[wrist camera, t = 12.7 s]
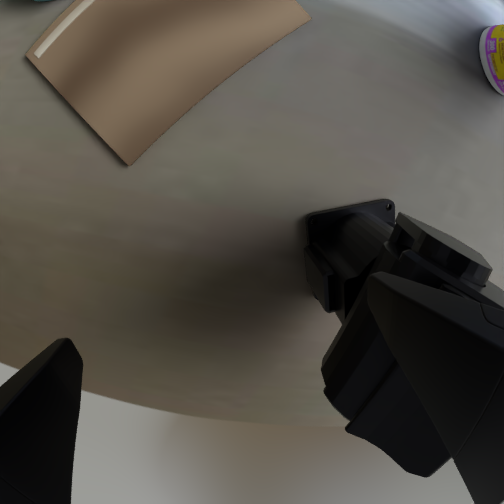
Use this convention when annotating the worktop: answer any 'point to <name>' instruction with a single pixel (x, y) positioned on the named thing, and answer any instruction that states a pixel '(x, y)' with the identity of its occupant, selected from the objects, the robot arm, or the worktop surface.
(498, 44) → the supplement bottle
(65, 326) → the worktop surface
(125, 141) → the board
